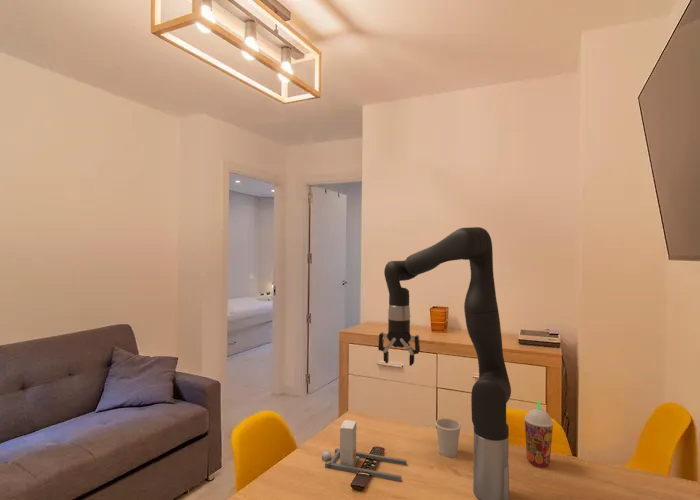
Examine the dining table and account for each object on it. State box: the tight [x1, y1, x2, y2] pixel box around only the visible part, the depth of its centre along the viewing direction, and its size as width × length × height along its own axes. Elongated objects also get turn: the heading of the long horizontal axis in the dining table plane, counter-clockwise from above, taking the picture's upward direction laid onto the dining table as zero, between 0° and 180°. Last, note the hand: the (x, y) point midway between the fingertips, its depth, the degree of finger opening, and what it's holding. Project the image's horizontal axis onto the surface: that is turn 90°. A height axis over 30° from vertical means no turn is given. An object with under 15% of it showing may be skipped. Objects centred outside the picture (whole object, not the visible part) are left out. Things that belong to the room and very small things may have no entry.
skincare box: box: [339, 419, 357, 467], centre depth 128 cm, size 6×4×12 cm
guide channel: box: [321, 447, 408, 483], centre depth 127 cm, size 27×10×2 cm, turn 72°
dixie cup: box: [435, 417, 462, 459], centre depth 134 cm, size 8×8×10 cm
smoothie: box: [524, 400, 554, 468], centre depth 128 cm, size 8×8×20 cm
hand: (398, 363), depth 140 cm, fingers open, 8 cm apart
